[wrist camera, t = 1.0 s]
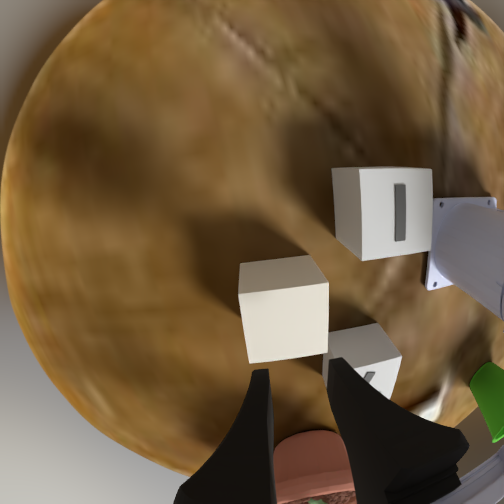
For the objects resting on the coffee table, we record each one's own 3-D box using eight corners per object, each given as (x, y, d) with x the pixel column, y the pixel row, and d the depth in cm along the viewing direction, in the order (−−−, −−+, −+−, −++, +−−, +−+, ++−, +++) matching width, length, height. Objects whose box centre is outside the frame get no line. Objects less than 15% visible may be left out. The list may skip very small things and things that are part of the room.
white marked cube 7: (377, 322, 21) (402, 356, 16) (370, 364, 23) (390, 399, 18) (323, 332, 21) (340, 372, 16) (322, 374, 23) (334, 414, 18)
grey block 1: (392, 166, 17) (432, 169, 12) (394, 231, 19) (431, 251, 14) (331, 168, 17) (359, 169, 13) (335, 238, 19) (362, 261, 14)
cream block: (309, 254, 19) (328, 282, 14) (311, 314, 21) (327, 352, 16) (240, 262, 19) (238, 293, 15) (248, 322, 21) (249, 363, 16)
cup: (496, 373, 26) (529, 411, 15) (457, 405, 27) (487, 450, 17) (503, 339, 24) (545, 379, 13) (460, 376, 25) (499, 427, 14)
